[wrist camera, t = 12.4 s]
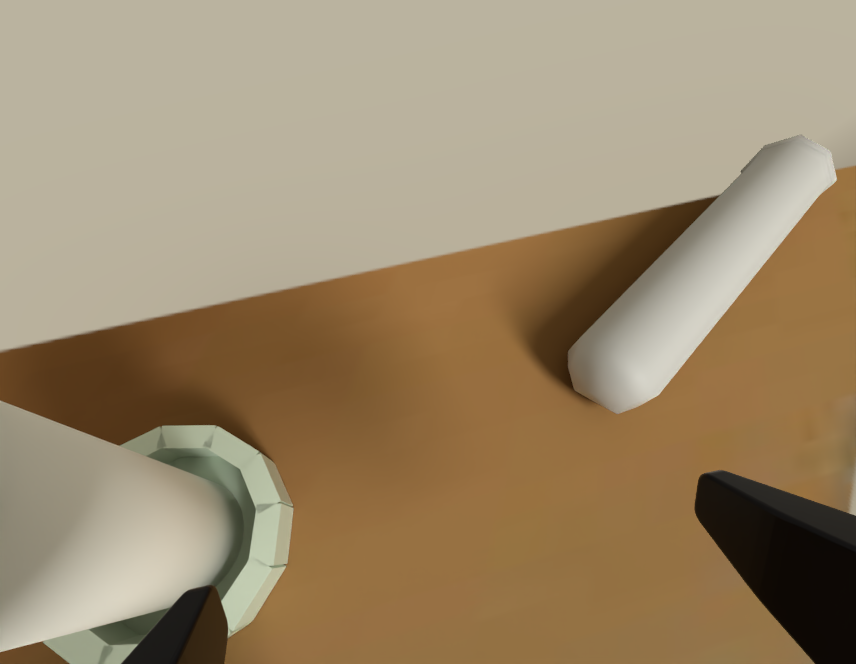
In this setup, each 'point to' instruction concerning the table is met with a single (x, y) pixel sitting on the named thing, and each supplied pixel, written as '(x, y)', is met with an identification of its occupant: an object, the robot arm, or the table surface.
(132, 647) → the holder
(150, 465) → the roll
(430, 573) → the table surface
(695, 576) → the table surface
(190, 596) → the robot arm
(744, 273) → the tube
